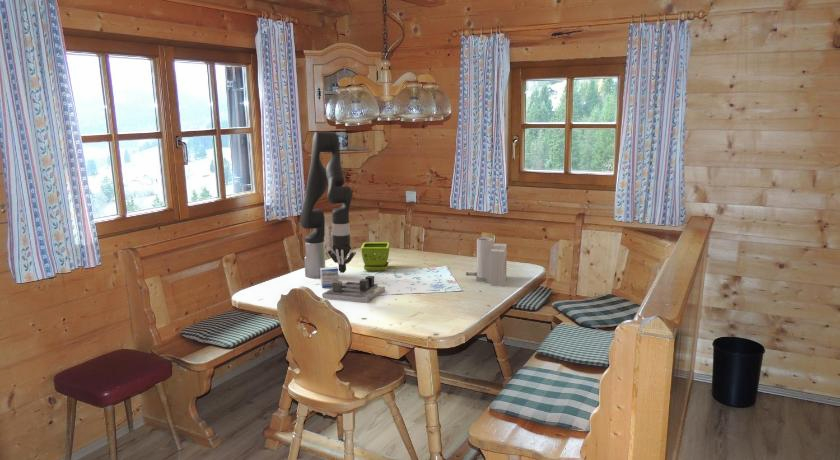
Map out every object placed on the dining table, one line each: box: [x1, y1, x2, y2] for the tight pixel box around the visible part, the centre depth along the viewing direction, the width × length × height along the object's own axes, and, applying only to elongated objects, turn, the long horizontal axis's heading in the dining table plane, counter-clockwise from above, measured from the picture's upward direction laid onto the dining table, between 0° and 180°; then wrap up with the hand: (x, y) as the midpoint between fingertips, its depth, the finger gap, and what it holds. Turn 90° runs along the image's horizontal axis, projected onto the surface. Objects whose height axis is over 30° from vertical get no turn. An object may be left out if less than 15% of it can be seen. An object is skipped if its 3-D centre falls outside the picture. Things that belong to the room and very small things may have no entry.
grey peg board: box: [321, 275, 386, 304], centre depth 275 cm, size 22×18×7 cm
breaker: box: [332, 280, 343, 293], centre depth 271 cm, size 3×3×5 cm
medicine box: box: [320, 266, 340, 289], centre depth 289 cm, size 8×4×9 cm, turn 105°
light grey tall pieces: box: [465, 237, 508, 287], centre depth 293 cm, size 16×19×20 cm
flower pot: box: [360, 241, 391, 272], centre depth 318 cm, size 14×14×13 cm
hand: (342, 272), depth 269 cm, fingers closed
